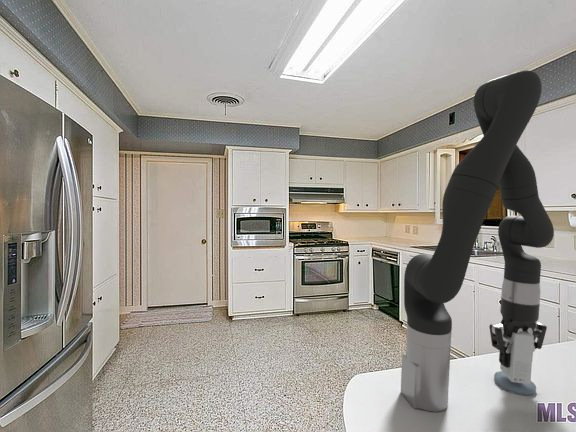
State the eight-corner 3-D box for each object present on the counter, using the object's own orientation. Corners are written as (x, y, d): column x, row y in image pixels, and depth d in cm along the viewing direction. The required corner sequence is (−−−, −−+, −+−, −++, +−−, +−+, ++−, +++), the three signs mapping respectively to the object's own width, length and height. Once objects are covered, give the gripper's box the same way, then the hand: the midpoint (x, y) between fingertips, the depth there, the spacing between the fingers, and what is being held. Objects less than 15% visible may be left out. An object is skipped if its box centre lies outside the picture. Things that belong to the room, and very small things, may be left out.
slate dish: (513, 397, 73) (513, 393, 73) (486, 376, 81) (486, 372, 81) (545, 394, 74) (545, 390, 74) (514, 373, 82) (515, 370, 82)
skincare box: (531, 384, 74) (534, 335, 73) (511, 382, 75) (514, 334, 74) (517, 370, 80) (520, 325, 79) (499, 368, 81) (502, 323, 80)
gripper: (506, 304, 71) (501, 376, 73) (561, 302, 73) (555, 371, 75) (481, 294, 79) (477, 359, 80) (532, 292, 81) (527, 355, 82)
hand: (515, 364), depth 77 cm, fingers closed on skincare box, 5 cm apart
